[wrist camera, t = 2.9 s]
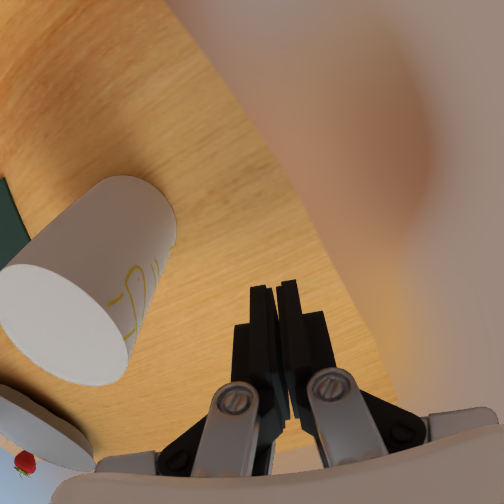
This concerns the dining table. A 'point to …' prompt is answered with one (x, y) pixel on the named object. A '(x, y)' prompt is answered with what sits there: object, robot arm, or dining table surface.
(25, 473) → the strawberry
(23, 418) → the flat disc
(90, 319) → the cup
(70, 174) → the dining table surface
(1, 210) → the mat
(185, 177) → the dining table surface
